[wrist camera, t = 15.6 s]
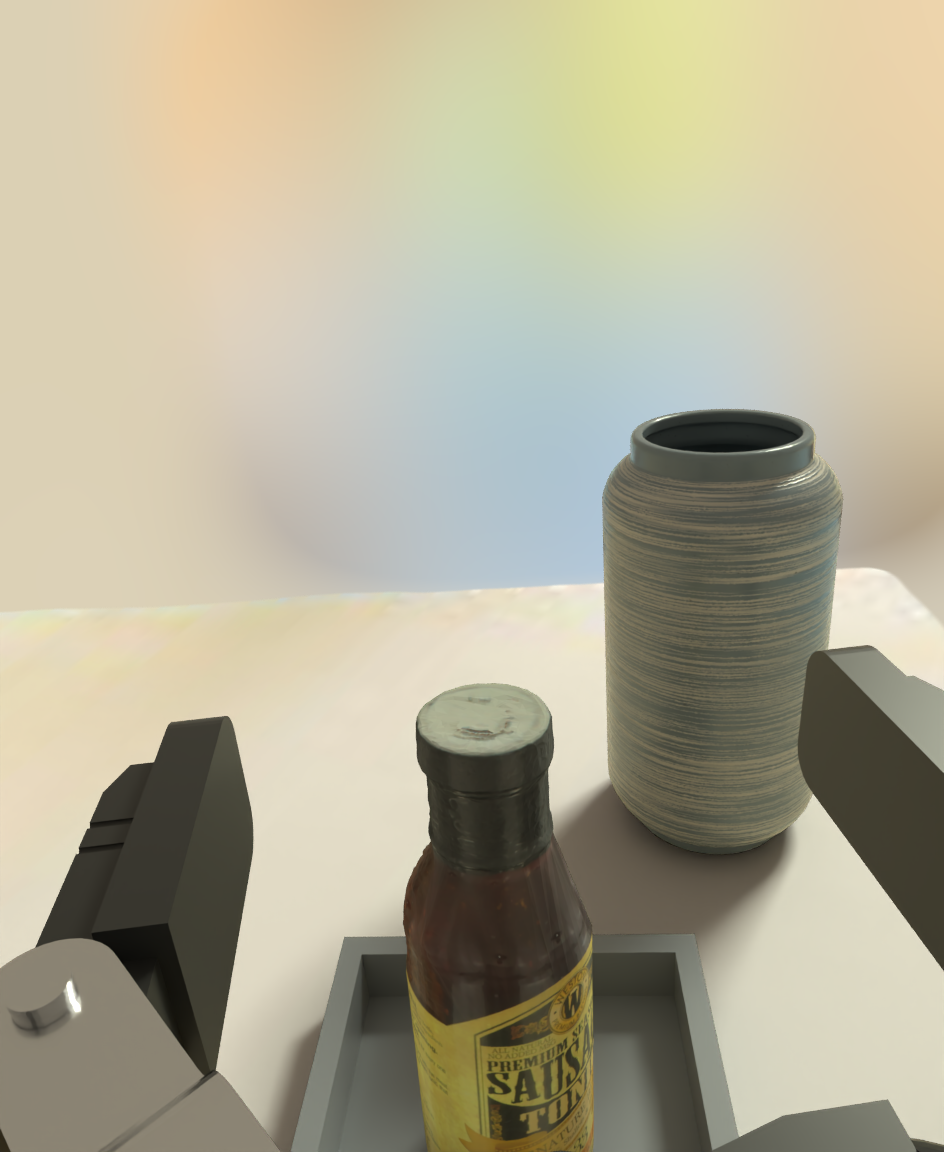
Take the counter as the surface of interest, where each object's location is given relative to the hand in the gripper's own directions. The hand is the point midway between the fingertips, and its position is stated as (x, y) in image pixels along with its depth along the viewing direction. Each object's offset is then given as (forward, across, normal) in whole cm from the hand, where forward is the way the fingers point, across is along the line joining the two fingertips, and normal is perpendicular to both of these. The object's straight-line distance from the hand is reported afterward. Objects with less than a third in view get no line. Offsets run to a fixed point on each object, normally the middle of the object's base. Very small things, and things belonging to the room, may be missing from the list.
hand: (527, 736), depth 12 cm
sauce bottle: (+10, 0, +27) cm, 29 cm away
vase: (+29, -15, +28) cm, 43 cm away
